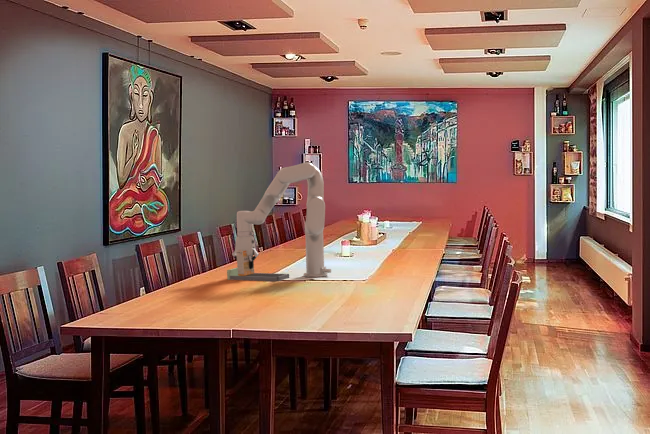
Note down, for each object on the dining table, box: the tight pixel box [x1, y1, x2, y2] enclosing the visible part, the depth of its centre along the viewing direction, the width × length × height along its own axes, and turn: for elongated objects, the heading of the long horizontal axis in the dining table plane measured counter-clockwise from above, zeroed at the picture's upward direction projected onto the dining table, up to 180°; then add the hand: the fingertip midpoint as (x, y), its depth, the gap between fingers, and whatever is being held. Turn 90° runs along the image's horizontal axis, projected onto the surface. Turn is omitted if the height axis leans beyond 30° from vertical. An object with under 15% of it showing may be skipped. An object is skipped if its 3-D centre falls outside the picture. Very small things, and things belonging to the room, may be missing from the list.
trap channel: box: [226, 267, 290, 282], centre depth 408 cm, size 30×13×5 cm, turn 68°
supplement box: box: [236, 251, 255, 276], centre depth 410 cm, size 8×5×13 cm, turn 143°
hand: (245, 268), depth 410 cm, fingers closed on supplement box, 5 cm apart
